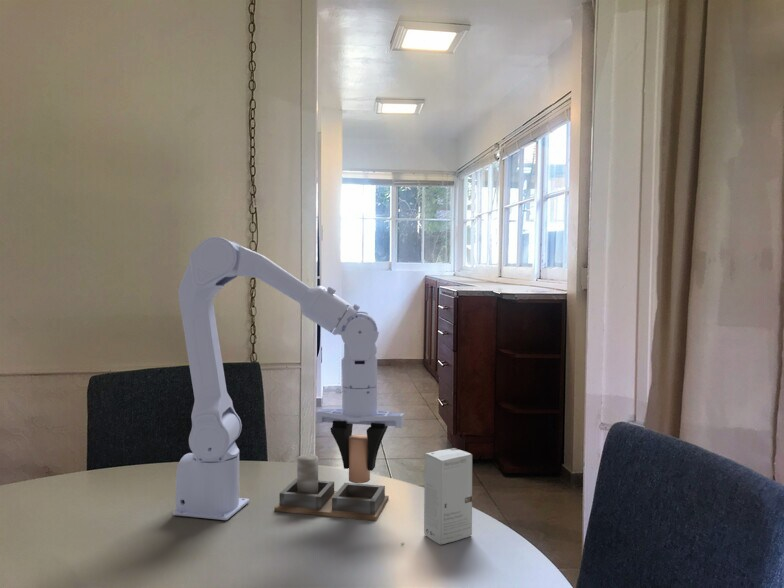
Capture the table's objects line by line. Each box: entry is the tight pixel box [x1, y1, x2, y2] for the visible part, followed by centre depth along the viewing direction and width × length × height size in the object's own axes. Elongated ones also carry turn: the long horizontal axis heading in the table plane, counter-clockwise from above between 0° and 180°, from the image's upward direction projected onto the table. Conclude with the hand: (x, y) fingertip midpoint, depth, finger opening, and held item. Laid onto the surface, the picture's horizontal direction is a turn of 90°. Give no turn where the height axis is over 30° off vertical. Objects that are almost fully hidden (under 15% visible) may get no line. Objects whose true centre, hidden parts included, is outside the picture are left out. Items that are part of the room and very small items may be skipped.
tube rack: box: [274, 454, 390, 522], centre depth 93 cm, size 17×9×8 cm, turn 78°
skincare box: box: [423, 447, 473, 546], centre depth 82 cm, size 6×4×12 cm
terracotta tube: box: [348, 434, 371, 484], centre depth 92 cm, size 4×4×7 cm
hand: (359, 467), depth 92 cm, fingers closed on terracotta tube, 3 cm apart
